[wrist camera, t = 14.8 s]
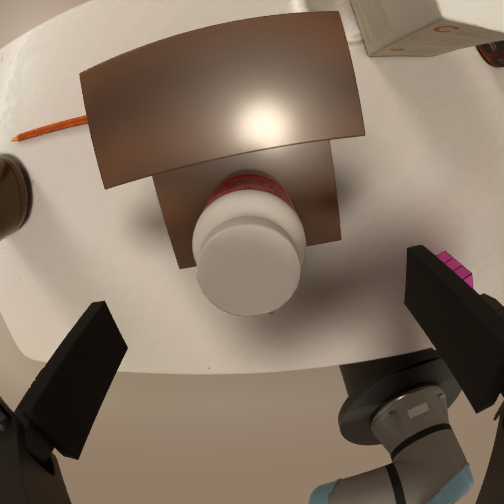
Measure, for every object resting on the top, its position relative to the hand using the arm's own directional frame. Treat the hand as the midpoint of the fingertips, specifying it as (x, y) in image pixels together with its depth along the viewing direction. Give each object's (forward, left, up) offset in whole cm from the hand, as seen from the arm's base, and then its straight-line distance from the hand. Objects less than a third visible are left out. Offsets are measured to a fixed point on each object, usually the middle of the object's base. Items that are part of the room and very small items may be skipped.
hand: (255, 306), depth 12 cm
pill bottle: (+1, 0, -13) cm, 13 cm away
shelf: (+5, 0, -17) cm, 17 cm away
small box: (+15, -17, -17) cm, 28 cm away
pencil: (+12, +16, -17) cm, 26 cm away
